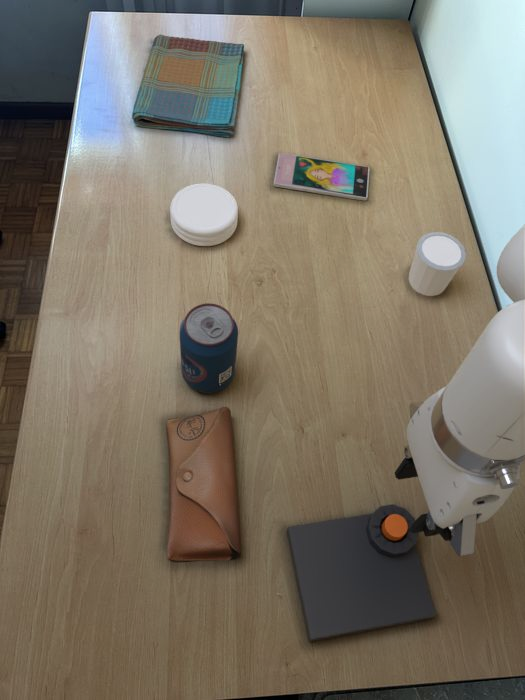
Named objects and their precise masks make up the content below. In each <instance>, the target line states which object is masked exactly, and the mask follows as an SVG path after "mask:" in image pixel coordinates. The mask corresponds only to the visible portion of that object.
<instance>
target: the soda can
mask: <svg viewBox="0 0 525 700" xmlns="http://www.w3.org/2000/svg"><path fill="white" fill-rule="evenodd" d="M238 340H239V328H238V324H237V322H236V321H235V318H234V317H233V316H232V314H231V313H230V312H229V310H227V309H226V308H225V307H224V306H222V305H219V304H217V303H210V302H209V303H201V304H199V305H196V306H194V307H193V308H191V309H190V310H189V311H188V312H187V314H186V316H185V317H184V318H183V319H182V321H181V322H180V326H179V348H180V349H179V350H180V351H179V352H180V368H181V375H182V378H183V381H184V382H185V383H186V384H187V385H188V386H189V387H190V388H191V389H193V390H195V391H197V392H200V393H204V394H205V393H208V394H209V393H210V394H211V393H217V392H220V391H222V390H224V389H225V388H227V387H228V386H229V385H230V384H231V383H232V381H233V380H234V377H235V375H236V368H237V367H236V365H237V352H238Z"/></svg>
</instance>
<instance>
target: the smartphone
mask: <svg viewBox="0 0 525 700" xmlns="http://www.w3.org/2000/svg"><path fill="white" fill-rule="evenodd" d="M369 181H370V167H369V166H366V165H360V164H355V163H354V164H353V163H349V162H348V163H347V162H341V161H335V160H328V159H322V158H316V157H309V156H303V155H297V154H291V153H284V152H278V156H277V161H276V167H275V173H274V178H273V184H272V185H273V187H275V188H282V189H287V190H295V191H301V192H306V193H307V192H308V193H314V194H320V195H325V196H326V195H327V196H332V197H339V198H345V199H351V200H358V201H365V202H366V201H367V200H368V196H369V184H370V183H369Z"/></svg>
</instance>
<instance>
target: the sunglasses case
mask: <svg viewBox="0 0 525 700" xmlns="http://www.w3.org/2000/svg"><path fill="white" fill-rule="evenodd" d="M232 420H233V419H232V413H231V409H230V408H229V407H227V406H223V407H220V408H217V409H214V410H209V411H207V412H203V413H199V414H195V415H191V416H189V417H180V418H179V417H178V418H177V417H175V418H169V419H168V420H166V421H165V428H166V429H165V430H166V437H167V447H168V449H167V450H168V467H169V468H168V470H169V475H168V476H169V477H168V478H169V486H168V487H169V516H168V517H169V518H168V519H169V520H168V533H167V546H166V547H167V548H166V557H167V559H169V560H170V561H173V562H185V563H187V562H188V563H189V562H215V561H216V562H217V561H232V560H236V559H238V558H240V557H241V556H242V546H241V545H242V544H241V527H240V525H241V523H240V509H239V507H240V506H239V495H238V483H237V468H236V454H235V443H234V441H235V440H234V429H233V421H232Z"/></svg>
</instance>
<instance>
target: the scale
mask: <svg viewBox="0 0 525 700" xmlns="http://www.w3.org/2000/svg"><path fill="white" fill-rule="evenodd" d="M392 514H398V515H400V516H402V517H403V518H404V519H405V520H406V522H407V524H408V530H407V532H406V534H405V535H404V536H403V537H402V538H401V539H400V540H397V541H392V540H389V539H387V538H386V537H385V536H384V534H383V532H382V524H383V522H384V521H385V520H386V518H387V517H388V516H390V515H392ZM415 521H416V519H415V517H414V516H413V515H412V514H411V513H410V511H408V510H407V509H406V508H404V507H402V506H400V505H396V504H393V503H392V504H386V505H381V506H379V507H378V508H377V509H376V510H375V511H373V512H372V513H366V514H360V515H355V516H349V517H342V518H337V519H336V518H335V519H329V520H324V521H323V520H322V521H317V522H312V523H311V522H310V523H305V524H298V525H292V526H288V527H287V529H286V538H287V543H288V547H289V551H290V552H289V553H290V557H291V563H292V567H293V572H294V578H295V581H296V586H297V591H298V592H297V593H298V597H299V602H300V605H301V613H302V616H303V622H304V627H305V631H306V636H307V641H308V642H309V643H311V642H316V641H322V640H327V639H332V638H338V637H342V636H348V635H354V634H358V633H363V632H368V631H374V630H379V629H385V628H389V627H395V626H400V625H405V624H410V623H411V624H412V623H415V622H422V621H427V620H432V619H433V618H435V617H437V612H436V610H435V606H434V602H433V599H432V595H431V592H430V589H429V586H428V582H427V579H426V576H425V572H424V569H423V565H422V562H421V558H420V555H419V552H418V549H417V545H416V544H417V540H418V537H419V532H418V533H412V530H411V527H412V526H411V525H412V524H413V523H414V522H415Z"/></svg>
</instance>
